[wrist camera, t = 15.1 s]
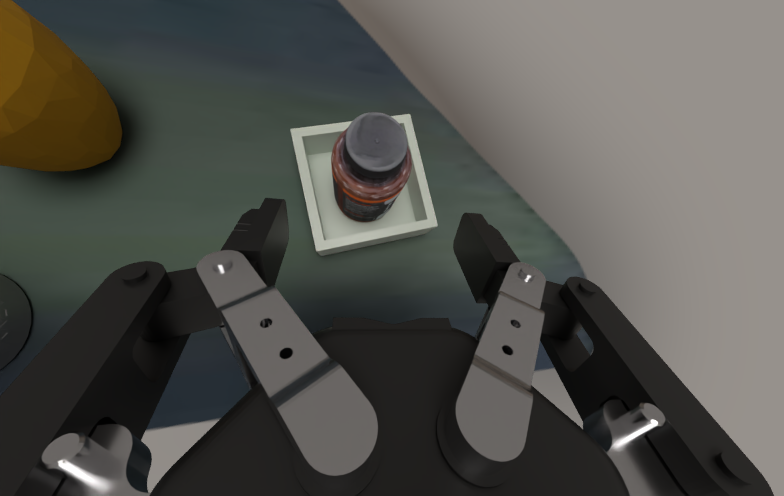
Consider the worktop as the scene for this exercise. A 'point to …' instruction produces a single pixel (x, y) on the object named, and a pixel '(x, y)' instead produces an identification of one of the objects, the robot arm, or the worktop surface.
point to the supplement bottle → (370, 166)
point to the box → (326, 218)
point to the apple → (50, 100)
